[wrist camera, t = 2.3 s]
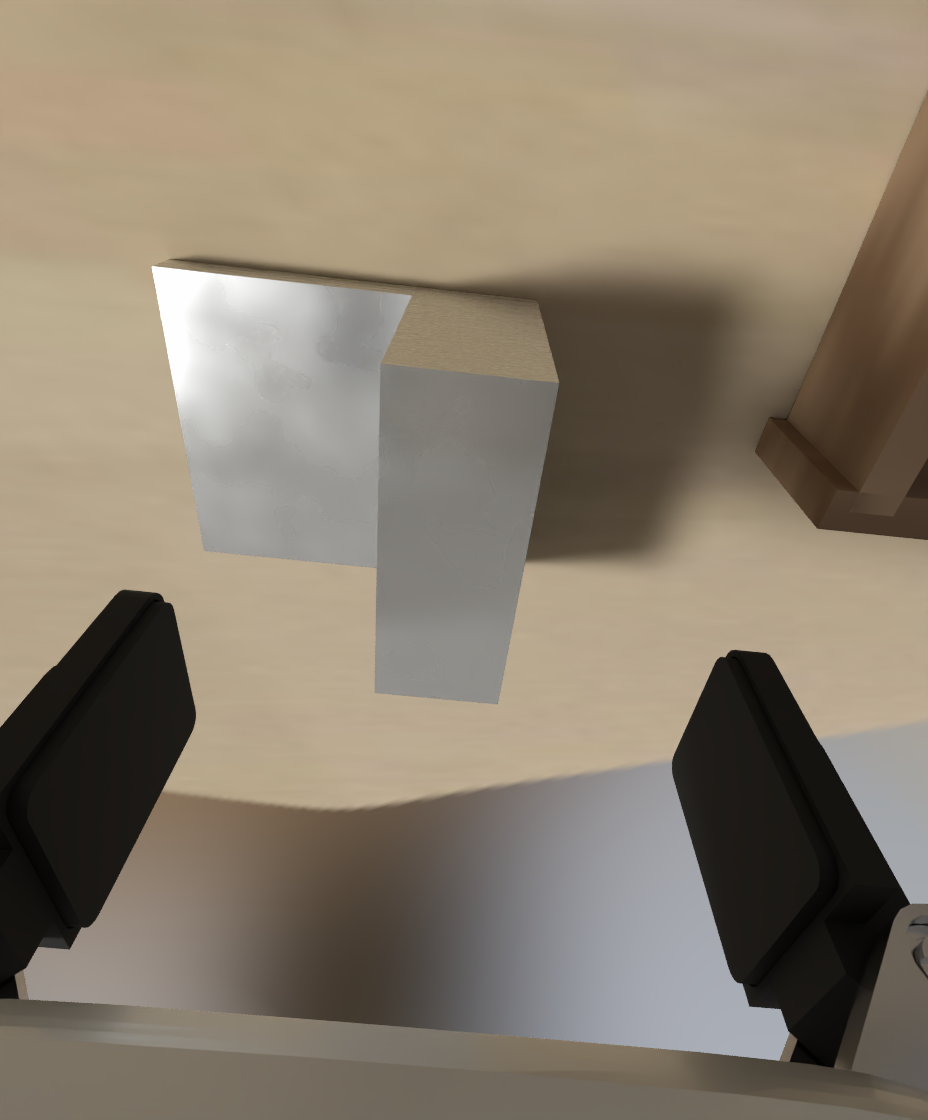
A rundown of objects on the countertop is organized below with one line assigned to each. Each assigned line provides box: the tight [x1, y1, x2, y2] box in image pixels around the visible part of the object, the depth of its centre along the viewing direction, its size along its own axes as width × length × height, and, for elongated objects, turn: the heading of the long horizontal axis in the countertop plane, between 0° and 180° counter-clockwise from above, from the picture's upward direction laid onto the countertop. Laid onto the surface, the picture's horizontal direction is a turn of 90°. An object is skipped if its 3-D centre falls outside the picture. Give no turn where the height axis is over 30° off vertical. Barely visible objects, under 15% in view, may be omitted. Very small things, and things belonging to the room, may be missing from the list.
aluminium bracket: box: [152, 259, 559, 704], centre depth 15 cm, size 8×9×6 cm
